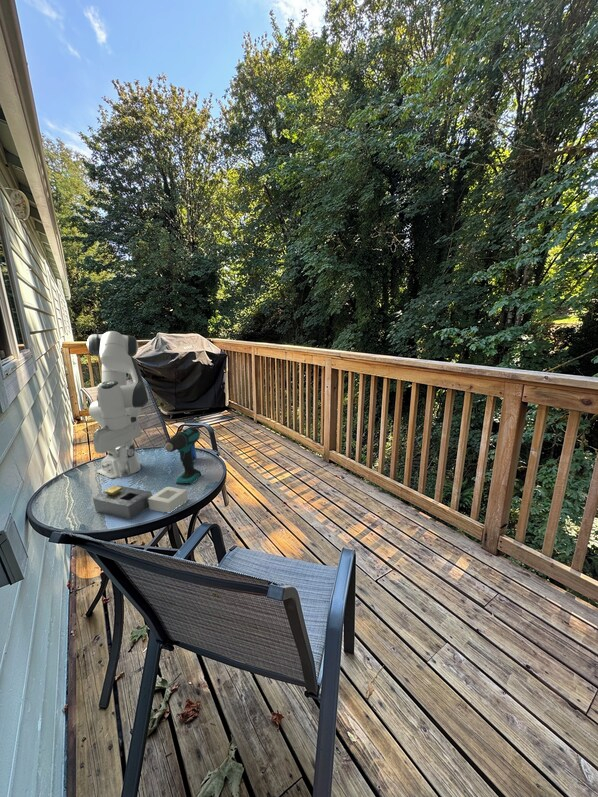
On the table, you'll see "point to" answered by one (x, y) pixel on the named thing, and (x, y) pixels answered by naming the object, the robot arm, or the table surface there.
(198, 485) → the table surface
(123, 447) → the metal cylinder
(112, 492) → the wooden tenon block
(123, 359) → the robot arm
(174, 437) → the power drill
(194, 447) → the blue upright block
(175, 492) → the cream square open frame
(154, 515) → the table surface
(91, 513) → the table surface
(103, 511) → the socket block
